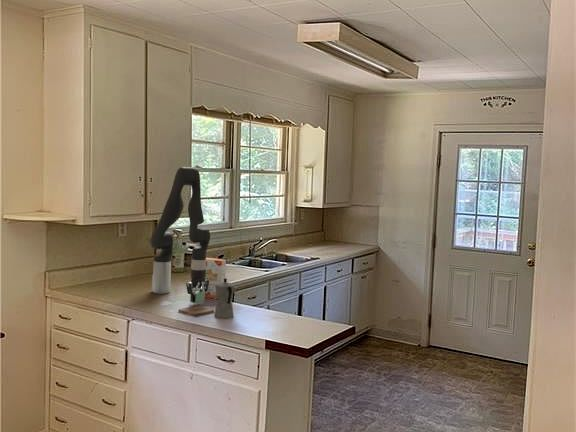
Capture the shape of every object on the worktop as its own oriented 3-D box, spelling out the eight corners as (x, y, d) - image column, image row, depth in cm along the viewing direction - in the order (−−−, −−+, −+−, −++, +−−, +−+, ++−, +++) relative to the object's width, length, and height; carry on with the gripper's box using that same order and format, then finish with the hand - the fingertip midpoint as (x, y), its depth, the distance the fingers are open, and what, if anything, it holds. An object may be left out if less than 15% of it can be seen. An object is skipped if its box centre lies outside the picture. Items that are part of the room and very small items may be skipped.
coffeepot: (210, 313, 273) (211, 276, 272) (229, 312, 277) (230, 275, 276) (219, 321, 259) (221, 282, 258) (239, 320, 263) (241, 281, 261)
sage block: (190, 302, 288) (190, 292, 287) (197, 300, 292) (197, 290, 291) (196, 304, 285) (197, 294, 284) (204, 302, 289) (204, 292, 288)
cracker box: (196, 297, 306) (197, 258, 304) (201, 294, 311) (202, 256, 310) (220, 299, 301) (221, 260, 300) (225, 297, 307) (226, 259, 306)
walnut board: (178, 311, 273) (178, 309, 273) (197, 307, 283) (197, 305, 282) (195, 316, 266) (195, 314, 266) (214, 312, 275) (214, 309, 275)
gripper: (203, 265, 295) (202, 297, 296) (182, 268, 283) (181, 302, 285) (214, 267, 290) (212, 300, 292) (192, 270, 279) (191, 305, 280)
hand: (197, 301), depth 288 cm, fingers closed on sage block, 5 cm apart
